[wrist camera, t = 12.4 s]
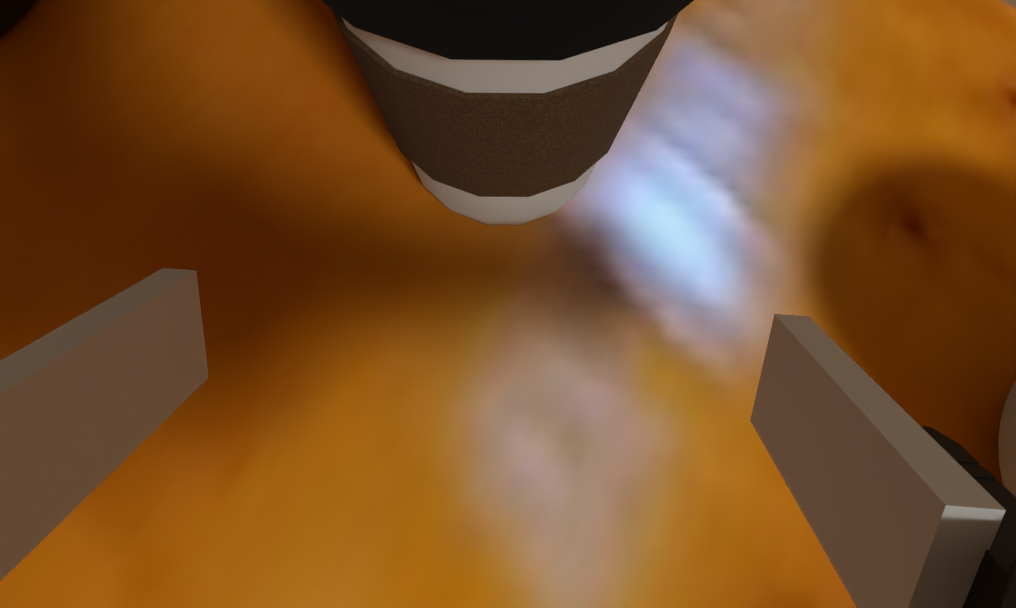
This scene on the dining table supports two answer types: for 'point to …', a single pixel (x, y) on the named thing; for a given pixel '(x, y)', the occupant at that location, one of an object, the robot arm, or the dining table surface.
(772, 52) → the dining table surface
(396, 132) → the coffee cup
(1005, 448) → the teacup
